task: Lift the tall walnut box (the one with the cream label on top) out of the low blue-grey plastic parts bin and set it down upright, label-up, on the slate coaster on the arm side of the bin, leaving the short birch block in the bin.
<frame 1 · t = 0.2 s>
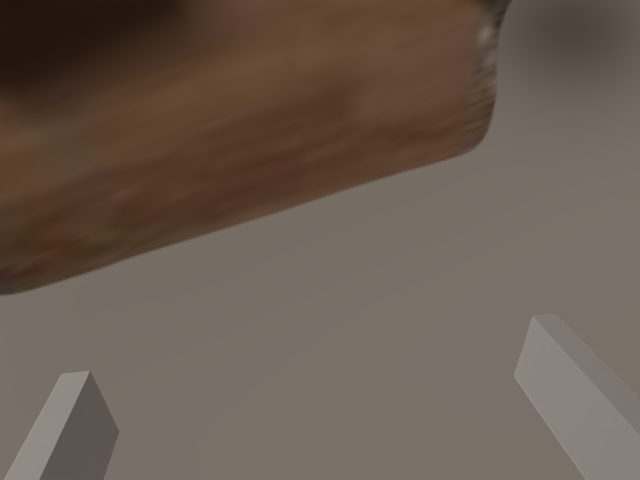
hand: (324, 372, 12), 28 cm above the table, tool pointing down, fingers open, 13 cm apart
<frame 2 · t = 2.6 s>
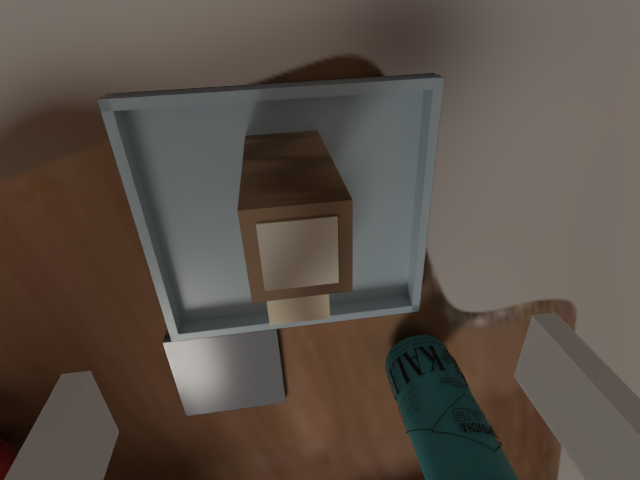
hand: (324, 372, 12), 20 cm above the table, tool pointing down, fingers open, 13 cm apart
parts bin: (288, 214, 31), on the table
walnut box: (284, 167, 29), resting on parts bin
beverage bottle: (408, 344, 40), on the table
slate coaster: (229, 370, 38), on the table
birch block: (292, 260, 33), resting on parts bin
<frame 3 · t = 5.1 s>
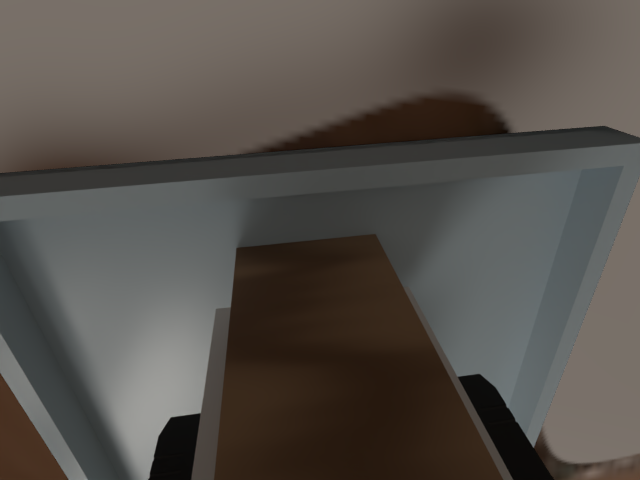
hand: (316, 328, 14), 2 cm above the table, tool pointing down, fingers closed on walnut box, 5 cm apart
parts bin: (314, 360, 18), on the table
walnut box: (310, 296, 15), resting on parts bin, touching gripper
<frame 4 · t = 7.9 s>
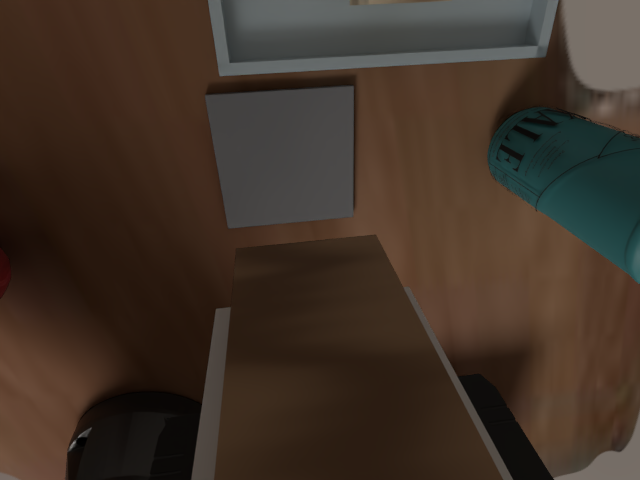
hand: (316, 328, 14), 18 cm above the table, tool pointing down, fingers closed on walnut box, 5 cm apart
walnut box: (310, 296, 15), point 17 cm above the table, touching gripper
beverage bottle: (512, 140, 32), on the table
slate coaster: (286, 159, 30), on the table
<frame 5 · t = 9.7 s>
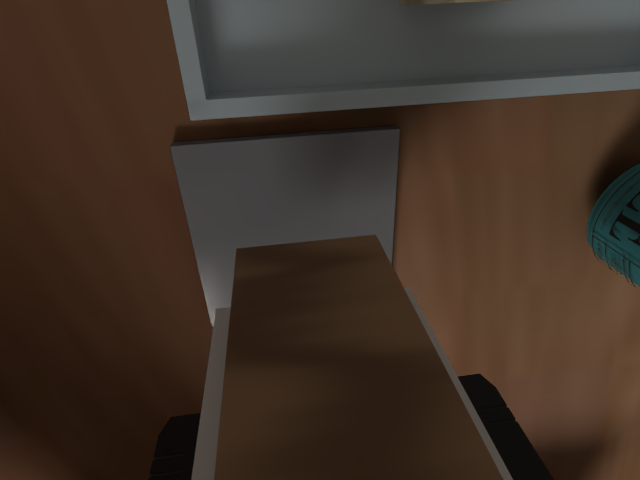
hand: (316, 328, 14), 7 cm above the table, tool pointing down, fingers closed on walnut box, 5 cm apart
walnut box: (310, 296, 15), point 6 cm above the table, touching gripper
beverage bottle: (615, 197, 22), on the table
slate coaster: (295, 231, 20), on the table
when the fingers open (4 cm above the table, at t = 11.1 s): walnut box drops 2 cm, resting on slate coaster.
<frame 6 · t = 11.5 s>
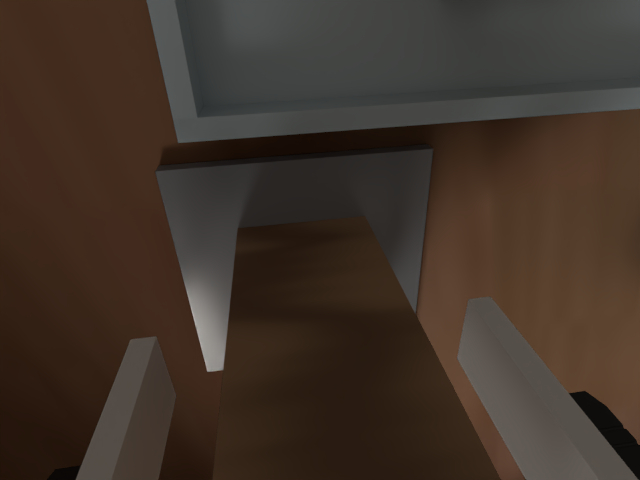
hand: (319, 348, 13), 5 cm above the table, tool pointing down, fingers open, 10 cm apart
walnut box: (305, 274, 17), point 1 cm above the table, touching slate coaster
slate coaster: (305, 266, 17), on the table
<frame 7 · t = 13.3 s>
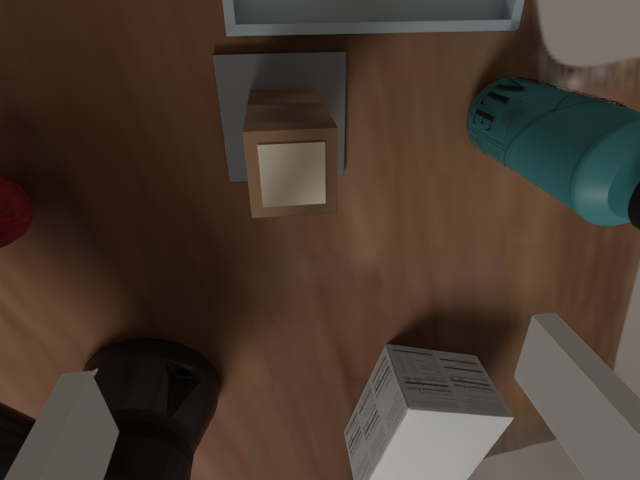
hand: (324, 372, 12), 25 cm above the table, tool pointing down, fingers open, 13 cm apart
onion: (12, 190, 33), on the table
walnut box: (283, 121, 32), point 1 cm above the table, touching slate coaster
beverage bottle: (490, 110, 35), on the table
slate coaster: (284, 119, 33), on the table
supplement box: (407, 392, 53), on the table
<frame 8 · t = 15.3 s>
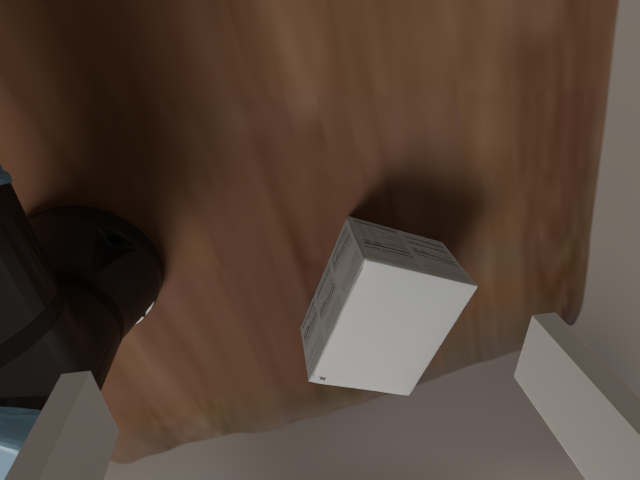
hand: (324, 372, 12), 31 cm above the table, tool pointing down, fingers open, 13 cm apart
supplement box: (369, 284, 50), on the table
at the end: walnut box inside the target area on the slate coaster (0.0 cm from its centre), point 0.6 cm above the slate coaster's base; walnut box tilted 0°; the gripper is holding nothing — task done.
